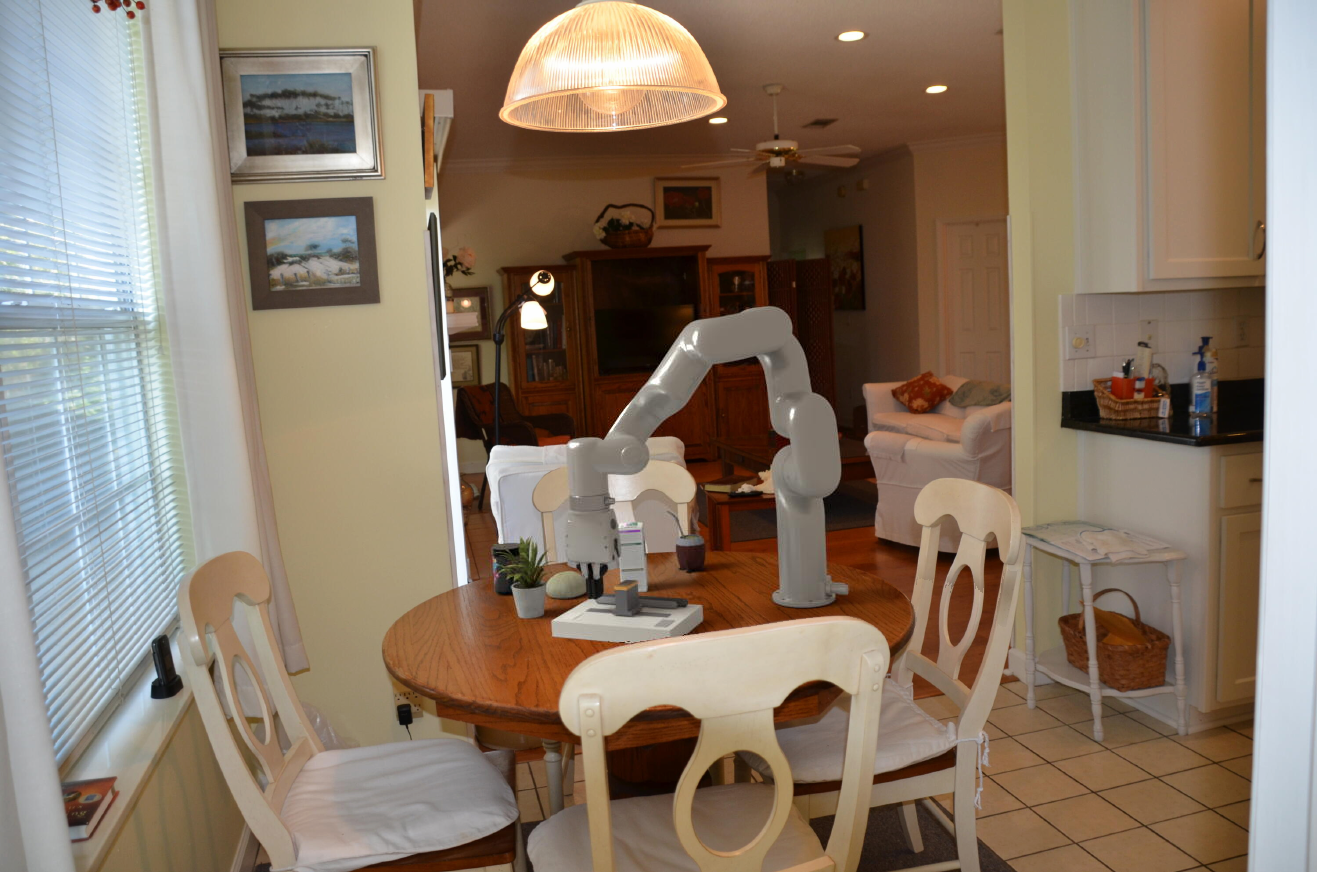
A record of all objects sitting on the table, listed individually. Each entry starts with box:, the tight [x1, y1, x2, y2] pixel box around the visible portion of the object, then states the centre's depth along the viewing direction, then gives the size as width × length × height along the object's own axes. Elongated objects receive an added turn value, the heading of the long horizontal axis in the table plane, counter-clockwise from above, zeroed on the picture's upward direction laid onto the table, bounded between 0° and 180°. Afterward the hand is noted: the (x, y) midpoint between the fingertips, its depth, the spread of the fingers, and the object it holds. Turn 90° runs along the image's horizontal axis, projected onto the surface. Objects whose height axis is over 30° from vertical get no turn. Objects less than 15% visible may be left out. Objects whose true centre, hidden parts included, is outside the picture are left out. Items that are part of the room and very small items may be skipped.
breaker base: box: [550, 592, 704, 644], centre depth 176 cm, size 24×16×5 cm, turn 66°
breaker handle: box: [612, 580, 643, 616], centre depth 175 cm, size 4×5×5 cm
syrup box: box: [618, 521, 649, 593], centre depth 203 cm, size 6×6×14 cm
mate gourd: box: [666, 510, 707, 574], centre depth 217 cm, size 8×8×15 cm
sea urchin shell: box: [546, 570, 586, 600], centre depth 203 cm, size 9×8×8 cm
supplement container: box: [491, 542, 523, 596], centre depth 207 cm, size 7×7×10 cm
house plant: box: [492, 536, 556, 619], centre depth 189 cm, size 14×14×16 cm
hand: (595, 597), depth 178 cm, fingers closed
